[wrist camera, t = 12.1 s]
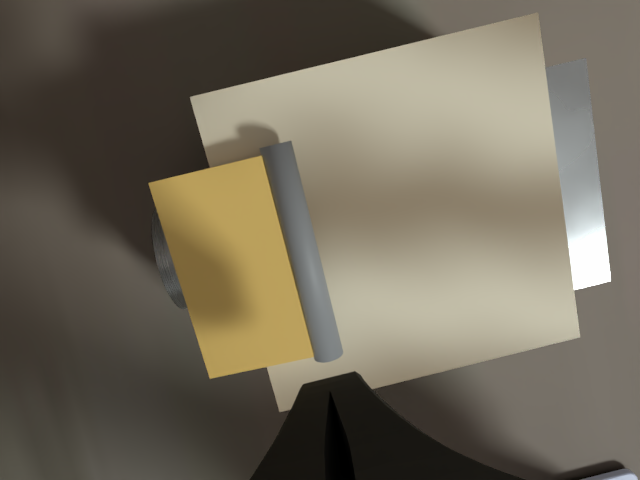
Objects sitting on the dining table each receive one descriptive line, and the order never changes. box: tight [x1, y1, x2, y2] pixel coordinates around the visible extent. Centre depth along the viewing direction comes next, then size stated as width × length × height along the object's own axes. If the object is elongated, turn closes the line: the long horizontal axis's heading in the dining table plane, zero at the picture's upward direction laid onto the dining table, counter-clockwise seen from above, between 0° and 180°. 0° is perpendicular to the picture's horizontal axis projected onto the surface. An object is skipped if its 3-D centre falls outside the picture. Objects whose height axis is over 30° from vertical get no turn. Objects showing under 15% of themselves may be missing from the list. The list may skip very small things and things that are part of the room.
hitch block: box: [190, 13, 580, 412], centre depth 17 cm, size 10×10×6 cm
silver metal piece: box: [151, 58, 611, 309], centre depth 17 cm, size 7×14×6 cm, turn 103°
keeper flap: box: [148, 141, 343, 379], centre depth 14 cm, size 6×1×4 cm
